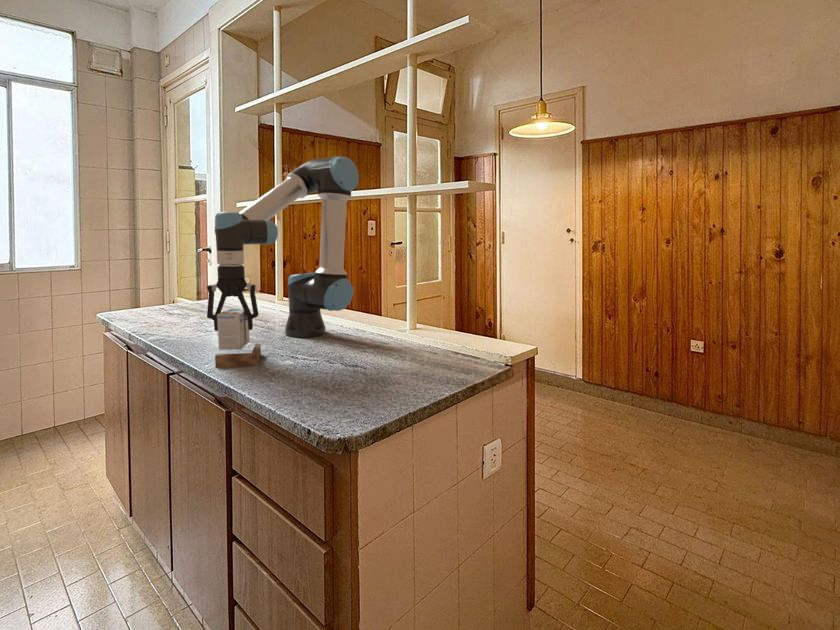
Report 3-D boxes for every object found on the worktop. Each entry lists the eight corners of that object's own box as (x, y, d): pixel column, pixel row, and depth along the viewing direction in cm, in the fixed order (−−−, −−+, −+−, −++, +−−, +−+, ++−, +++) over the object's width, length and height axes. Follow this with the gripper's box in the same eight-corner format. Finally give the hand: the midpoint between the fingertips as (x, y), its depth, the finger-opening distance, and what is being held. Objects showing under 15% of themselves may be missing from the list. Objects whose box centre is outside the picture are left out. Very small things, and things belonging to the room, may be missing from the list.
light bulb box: (228, 342, 162) (226, 308, 160) (250, 341, 163) (248, 308, 161) (218, 350, 152) (216, 313, 150) (241, 349, 152) (239, 313, 150)
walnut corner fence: (260, 354, 165) (260, 343, 164) (257, 365, 152) (256, 353, 151) (222, 356, 162) (222, 345, 162) (215, 367, 149) (215, 355, 149)
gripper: (192, 266, 147) (196, 344, 151) (265, 265, 152) (267, 342, 155) (197, 264, 155) (201, 339, 158) (266, 264, 159) (269, 337, 163)
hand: (234, 340), depth 157 cm, fingers closed on light bulb box, 7 cm apart
